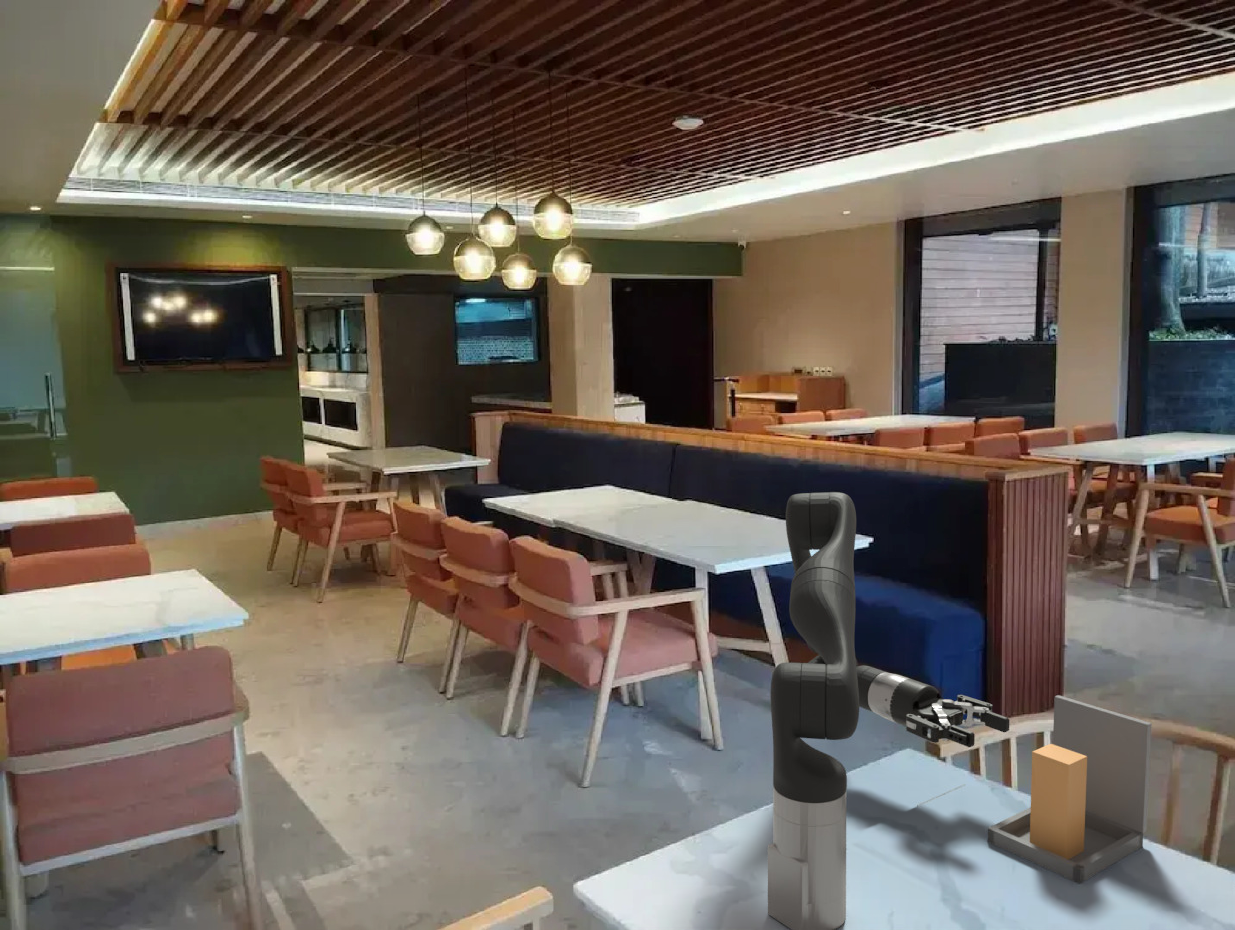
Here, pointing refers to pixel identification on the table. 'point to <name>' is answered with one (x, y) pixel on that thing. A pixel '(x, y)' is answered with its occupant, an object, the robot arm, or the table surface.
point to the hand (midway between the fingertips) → (990, 733)
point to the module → (1058, 800)
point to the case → (1094, 790)
